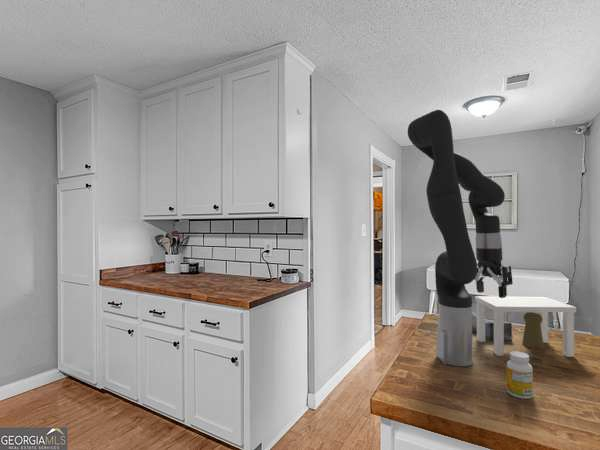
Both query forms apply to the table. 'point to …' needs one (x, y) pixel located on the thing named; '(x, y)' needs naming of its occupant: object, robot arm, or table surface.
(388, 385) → the table surface
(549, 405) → the table surface
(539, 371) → the table surface
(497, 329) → the low table
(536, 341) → the cork
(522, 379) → the supplement bottle
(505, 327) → the steel crook
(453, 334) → the robot arm
